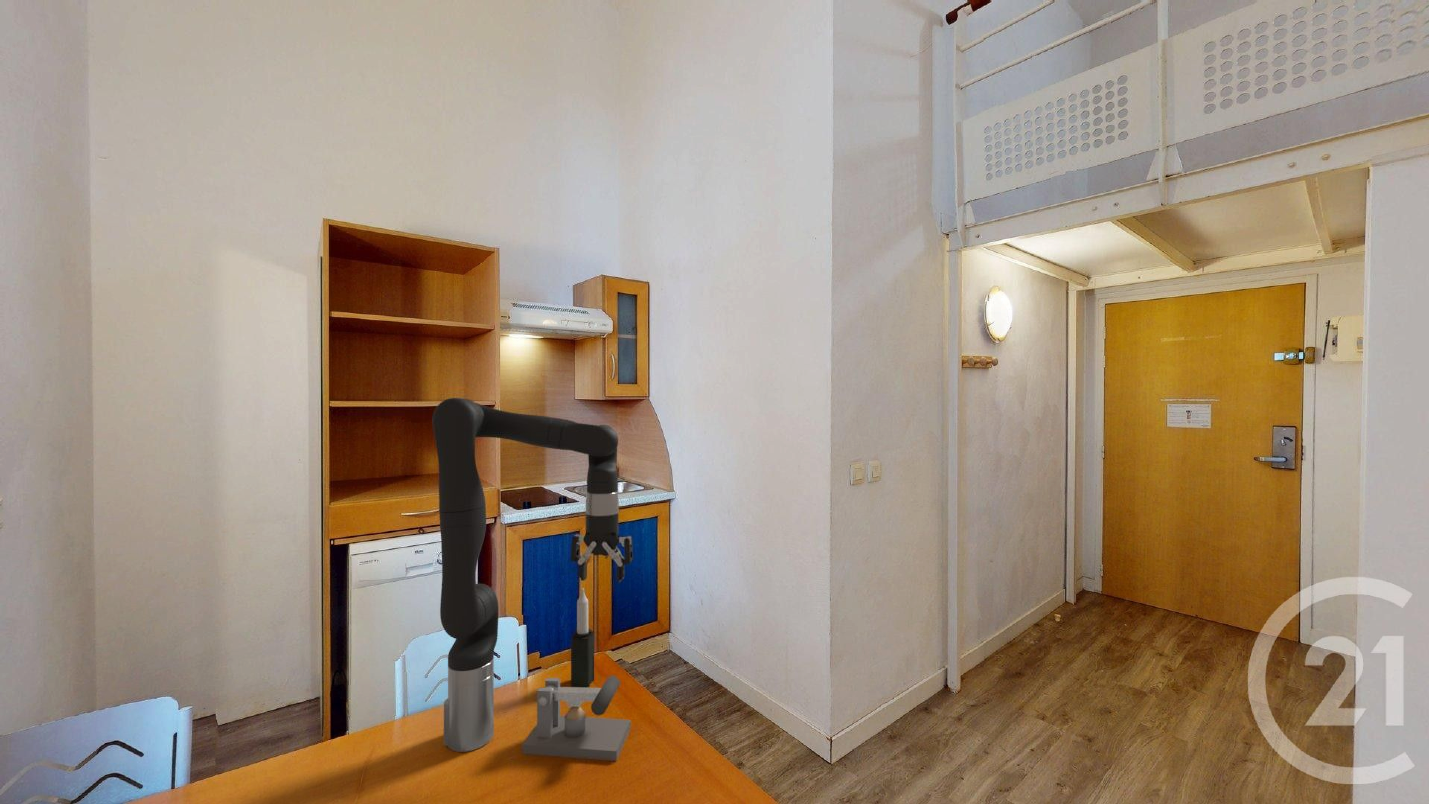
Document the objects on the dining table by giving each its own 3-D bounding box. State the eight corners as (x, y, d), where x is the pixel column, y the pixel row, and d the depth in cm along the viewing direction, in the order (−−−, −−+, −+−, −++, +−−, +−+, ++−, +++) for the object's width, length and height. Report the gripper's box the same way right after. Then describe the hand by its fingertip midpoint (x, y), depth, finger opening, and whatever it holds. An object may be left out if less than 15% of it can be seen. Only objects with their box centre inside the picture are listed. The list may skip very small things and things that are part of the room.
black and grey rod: (587, 688, 140) (587, 592, 140) (569, 686, 141) (569, 590, 141) (595, 678, 145) (595, 585, 145) (578, 676, 146) (578, 584, 146)
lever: (533, 716, 114) (532, 698, 114) (552, 690, 124) (551, 674, 124) (606, 718, 113) (605, 700, 113) (619, 692, 122) (619, 676, 122)
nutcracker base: (522, 753, 114) (522, 697, 114) (544, 723, 125) (544, 671, 125) (616, 760, 112) (616, 703, 112) (630, 728, 123) (630, 676, 123)
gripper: (566, 513, 123) (565, 584, 123) (627, 515, 121) (626, 587, 121) (578, 506, 130) (578, 574, 130) (636, 508, 128) (635, 576, 128)
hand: (601, 580), depth 125 cm, fingers open, 8 cm apart
